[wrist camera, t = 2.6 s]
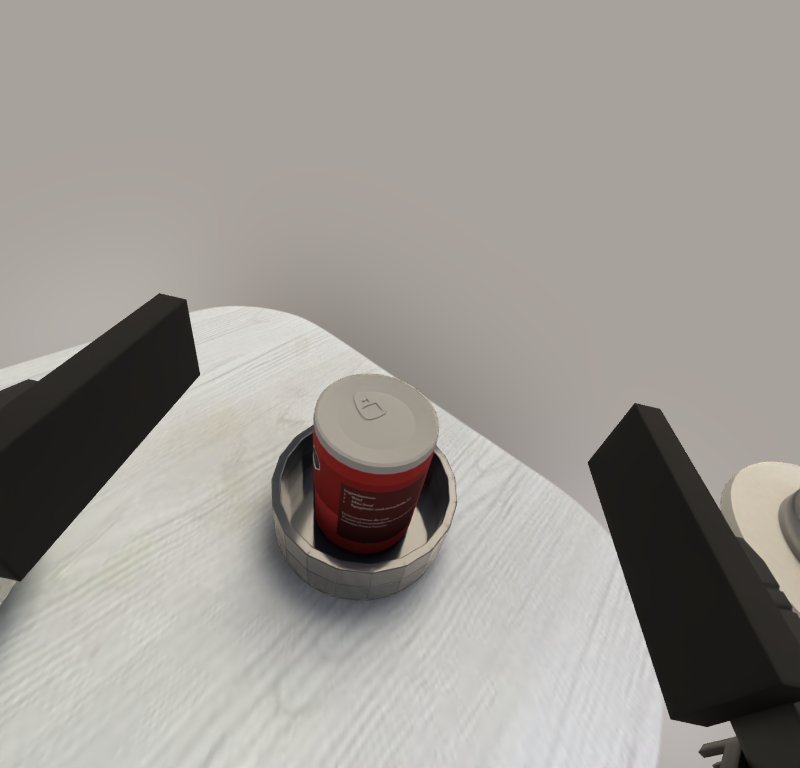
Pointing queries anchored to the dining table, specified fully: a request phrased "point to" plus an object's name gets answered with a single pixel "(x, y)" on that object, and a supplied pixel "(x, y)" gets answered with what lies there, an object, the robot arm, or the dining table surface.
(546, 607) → the dining table surface
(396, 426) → the canned food
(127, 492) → the dining table surface
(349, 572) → the dark grey round dish
